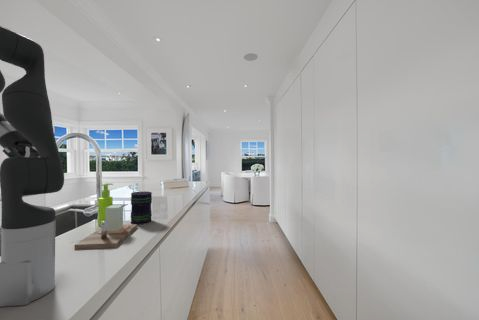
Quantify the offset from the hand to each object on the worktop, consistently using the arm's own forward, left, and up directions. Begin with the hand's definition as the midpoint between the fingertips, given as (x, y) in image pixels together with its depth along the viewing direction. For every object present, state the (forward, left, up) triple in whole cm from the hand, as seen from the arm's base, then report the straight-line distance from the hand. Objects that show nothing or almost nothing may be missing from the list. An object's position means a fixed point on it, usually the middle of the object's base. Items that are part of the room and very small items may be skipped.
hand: (45, 169), depth 75 cm
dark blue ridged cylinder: (+28, -25, -29) cm, 47 cm away
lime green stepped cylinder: (+26, -9, -29) cm, 40 cm away
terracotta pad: (+12, -19, -27) cm, 35 cm away
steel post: (+3, -19, -27) cm, 33 cm away
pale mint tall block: (+12, -19, -27) cm, 35 cm away
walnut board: (+8, -19, -29) cm, 35 cm away
